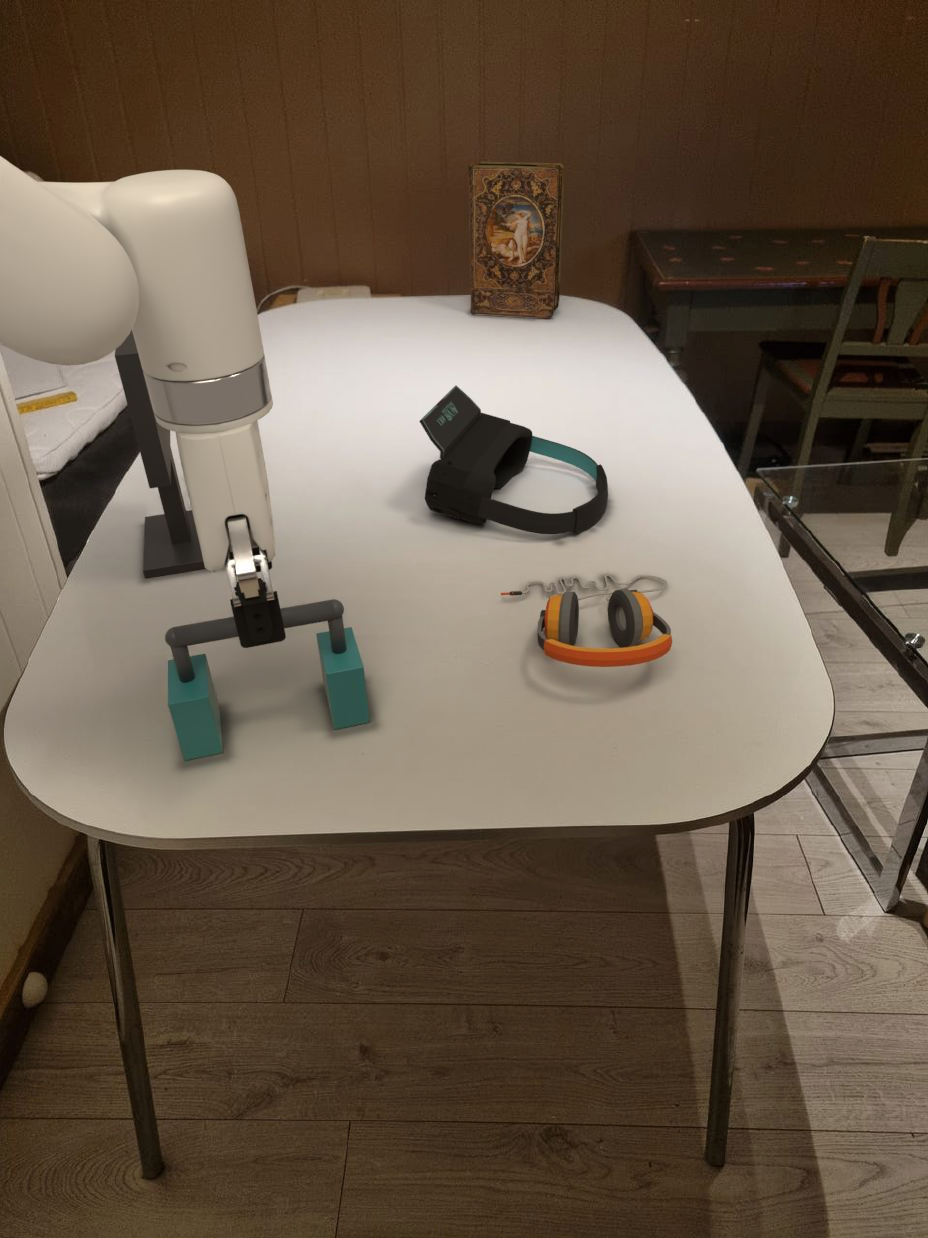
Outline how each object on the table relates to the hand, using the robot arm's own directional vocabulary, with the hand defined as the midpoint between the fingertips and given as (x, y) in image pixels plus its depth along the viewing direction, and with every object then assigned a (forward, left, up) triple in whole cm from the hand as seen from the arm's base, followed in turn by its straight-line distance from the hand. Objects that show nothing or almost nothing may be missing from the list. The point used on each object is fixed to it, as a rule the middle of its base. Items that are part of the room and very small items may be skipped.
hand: (258, 604), depth 65 cm
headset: (0, 0, -12) cm, 12 cm away
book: (+55, +101, -12) cm, 115 cm away
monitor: (-7, +32, -12) cm, 35 cm away
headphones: (+30, +3, -12) cm, 32 cm away
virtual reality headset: (+32, +30, -12) cm, 45 cm away
